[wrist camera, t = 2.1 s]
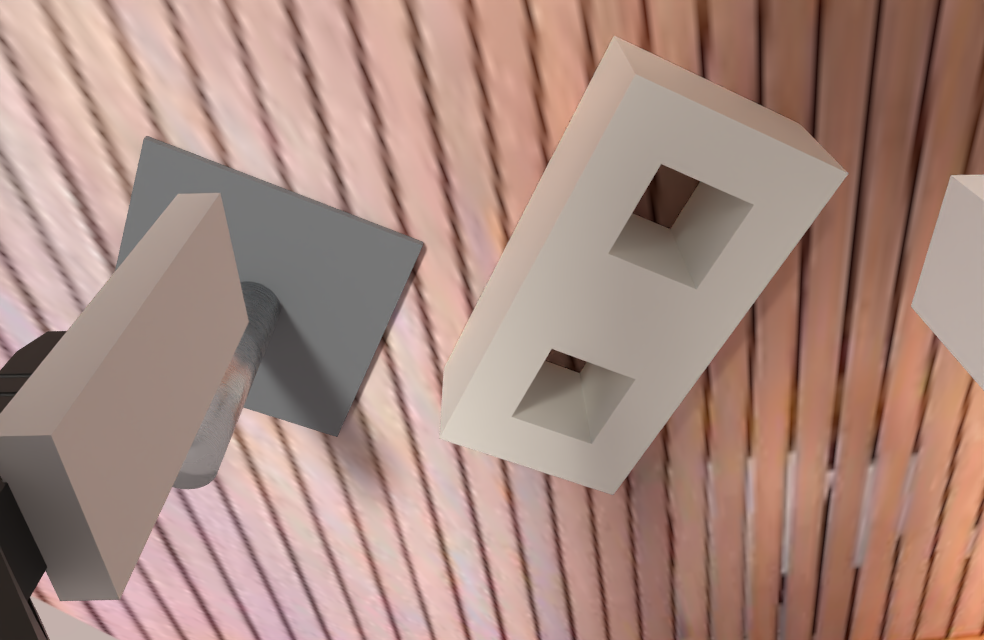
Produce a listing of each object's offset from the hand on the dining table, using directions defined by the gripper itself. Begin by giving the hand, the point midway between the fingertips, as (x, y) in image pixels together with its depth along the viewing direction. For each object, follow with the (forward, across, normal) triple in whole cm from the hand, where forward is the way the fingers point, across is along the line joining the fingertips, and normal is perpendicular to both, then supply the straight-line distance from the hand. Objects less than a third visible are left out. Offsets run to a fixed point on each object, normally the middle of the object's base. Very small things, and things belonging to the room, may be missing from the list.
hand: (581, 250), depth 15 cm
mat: (+24, -15, -15) cm, 31 cm away
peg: (+23, -15, -15) cm, 31 cm away
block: (+24, +4, -13) cm, 27 cm away
